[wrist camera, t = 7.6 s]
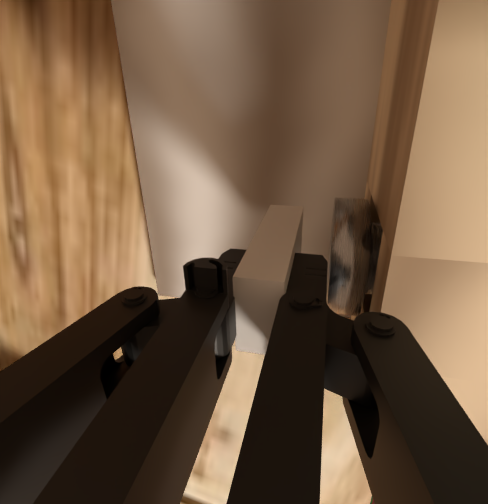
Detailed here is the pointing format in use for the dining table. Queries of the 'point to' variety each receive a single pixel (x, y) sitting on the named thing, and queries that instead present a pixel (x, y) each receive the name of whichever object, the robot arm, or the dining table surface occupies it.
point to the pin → (352, 255)
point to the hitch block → (324, 146)
